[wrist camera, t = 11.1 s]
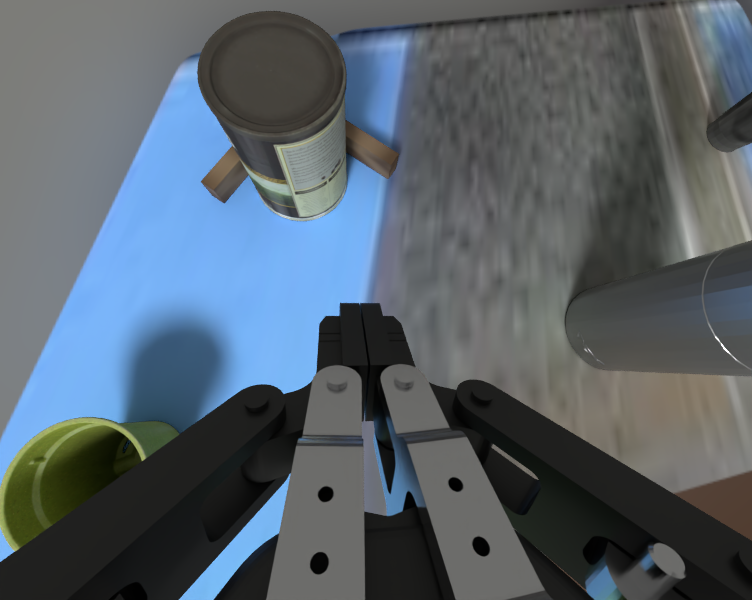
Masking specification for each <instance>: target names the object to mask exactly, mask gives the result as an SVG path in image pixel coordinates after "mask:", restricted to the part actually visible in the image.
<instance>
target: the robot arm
mask: <svg viewBox="0 0 752 600" xmlns="http://www.w3.org/2000/svg"><path fill="white" fill-rule="evenodd" d="M566 331H567V335H568V338H569V341H570V343H571V345H572V347H573V349H574V350H575V351H576V353H577V354H578V355H579V356H580V357H581V358H582V359H583V360H584V361H586V362H587V363H588V364H590V365H592V366H594V367H596V368H599V369H603V370H612V371H635V372H655V373H680V374H704V375H729V376H752V240H751V241H748V242H745V243H741V244H738V245H734V246H732V247H729V248H725V249H722V250H719V251H715V252H712V253H708V254H705V255H702V256H698V257H695V258H692V259H688V260H685V261H682V262H678V263H675V264H672V265H668V266H665V267H662V268H658V269H655V270H652V271H648V272H645V273H642V274H638V275H635V276H631V277H628V278H625V279H621V280H618V281H614V282H611V283H607V284H604V285H601V286H598V287H594V288H591V289H588V290H585V291H583V292H582V293H580V294H579V295H577V297H576V298H575V299H574V300H573V301H572V303H571V304H570V306H569V308H568V311H567V315H566ZM364 412H365V421H374V428H375V433H374V447H375V452H376V457H377V461H378V466H379V471H380V475H381V480H382V485H383V490H384V494H385V499H386V506H387V516H383V515H378V514H373V513H368V512H364V447H363V439H362V421H364ZM493 444H494V445H496V446H497V447H498V448H500V449H501V450H503V451H504V452H505V453H507V454H508V455H510V456H511V457H512V458H514V459H515V460H517V461H518V462H519V463H521V464H522V465H524V466H525V467H526V468H528V469H529V470H530V471H532V472H533V473H534V474H535V475H536V476H537V478H538V479H539V480H537V479H534V478H533V477H531V476H530V475H528V474H527V473H525V472H524V471H523V470H521V469H520V468H519V467H517V466H516V465H514V464H513V463H512V462H510V461H509V460H508V459H506V458H505V457H503V456H502V455H501V454H499V453H498V452H497V451H495V450H494V449H492V448H491V447H492V445H493ZM290 473H291V476H290V481H289V486H288V491H287V496H286V501H285V506H284V511H283V516H282V522H281V527H280V532H279V534H277V535H275V536H274V537H272V538H271V539H269V540H268V541H266V542H265V543H264V544H263V545H261V546H260V547H259V548H258V549H257V550H255V551H254V552H253V553H252V554H251V555H250V556H249V557H248V558H247V559H246V560H245V561H244V562H243V564H242V565H241V566H240V567H239V568H238V570H237V571H236V572H235V573H234V575H233V576H232V577H231V578H230V580H229V581H228V582H227V583H226V585H225V586H224V587H223V589H222V590H221V591H220V592H219V594H218V595H217V596H216V597H215V599H214V600H752V541H751V540H749V539H748V538H746V537H744V536H743V535H741V534H740V533H738V532H736V531H734V530H733V529H731V528H729V527H728V526H726V525H725V524H723V523H721V522H720V521H718V520H716V519H715V518H713V517H711V516H710V515H708V514H706V513H705V512H703V511H701V510H699V509H698V508H696V507H694V506H693V505H691V504H690V503H688V502H686V501H685V500H683V499H681V498H680V497H678V496H676V495H675V494H673V493H671V492H670V491H668V490H666V489H665V488H663V487H661V486H660V485H658V484H656V483H655V482H653V481H651V480H650V479H648V478H646V477H645V476H643V475H641V474H640V473H638V472H636V471H635V470H633V469H631V468H630V467H628V466H626V465H625V464H623V463H621V462H620V461H618V460H616V459H615V458H613V457H611V456H610V455H608V454H606V453H605V452H603V451H601V450H600V449H598V448H596V447H595V446H593V445H591V444H590V443H588V442H586V441H585V440H583V439H581V438H580V437H578V436H576V435H575V434H573V433H571V432H570V431H568V430H566V429H565V428H563V427H561V426H560V425H558V424H556V423H555V422H553V421H551V420H550V419H548V418H546V417H545V416H543V415H541V414H540V413H538V412H536V411H535V410H533V409H531V408H530V407H528V406H526V405H525V404H523V403H521V402H520V401H518V400H516V399H515V398H513V397H511V396H510V395H508V394H506V393H505V392H503V391H501V390H500V389H498V388H496V387H495V386H493V385H491V384H489V383H487V382H484V381H481V380H466V381H464V382H462V383H460V384H459V385H458V387H457V390H453V389H449V388H444V387H440V386H436V385H434V384H431V383H430V382H428V380H427V378H426V376H425V375H424V374H423V372H421V371H420V370H419V369H417V368H416V367H415V364H414V361H413V358H412V355H411V352H410V349H409V346H408V343H407V342H406V337H405V334H404V331H403V328H402V325H401V323H400V322H399V321H398V320H397V319H396V318H395V317H394V316H383V314H382V310H381V306H380V303H360V305H359V303H340V315H339V316H325V318H324V319H323V320H322V321H321V323H320V325H319V343H318V358H317V372H316V375H315V376H314V378H313V380H312V381H311V383H309V384H308V385H307V386H305V387H304V388H302V389H299V390H297V391H294V392H290V393H286V394H283V393H282V391H281V390H280V389H278V388H276V387H274V386H271V385H263V384H261V385H254V386H250V387H248V388H245V389H243V390H241V391H240V392H238V393H237V394H236V395H234V396H233V397H231V398H230V399H228V400H227V401H226V402H224V403H223V404H221V405H220V406H219V407H217V408H216V409H214V410H213V411H212V412H210V413H209V414H207V415H206V416H205V417H203V418H202V419H200V420H199V421H198V422H196V423H195V424H193V425H192V426H191V427H189V428H188V429H186V430H185V431H184V432H182V433H181V434H179V435H178V436H177V437H175V438H174V439H172V440H171V441H170V442H168V443H167V444H165V445H164V446H163V447H161V448H160V449H158V450H157V451H156V452H154V453H153V454H151V455H150V456H149V457H147V458H146V459H144V460H143V461H142V462H140V463H139V464H137V465H136V466H134V467H133V468H132V469H130V470H129V471H127V472H126V473H125V474H123V475H122V476H120V477H119V478H118V479H116V480H115V481H113V482H112V483H111V484H109V485H108V486H106V487H105V488H104V489H102V490H101V491H99V492H98V493H97V494H95V495H94V496H92V497H91V498H90V499H88V500H87V501H85V502H84V503H83V504H81V505H80V506H78V507H77V508H76V509H74V510H73V511H71V512H70V513H69V514H67V515H66V516H64V517H63V518H62V519H60V520H59V521H57V522H56V523H55V524H53V525H52V526H50V527H49V528H48V529H46V530H45V531H43V532H42V533H40V534H39V535H38V536H36V537H35V538H33V539H32V540H31V541H29V542H28V543H26V544H25V545H24V546H22V547H21V548H19V549H18V550H17V551H15V552H14V553H12V554H11V555H10V556H8V557H7V558H5V559H4V560H3V561H1V562H0V600H179V599H180V598H181V596H182V595H183V594H184V593H185V592H186V591H187V590H188V589H189V588H190V587H191V585H192V584H193V583H194V582H195V581H196V580H197V579H198V578H199V577H200V575H201V574H202V573H203V572H204V571H205V570H206V569H207V568H208V567H209V565H210V564H211V563H212V562H213V561H214V560H215V559H216V558H217V557H218V555H219V554H220V553H221V552H222V551H223V550H224V549H225V548H226V547H227V545H228V544H229V543H230V542H231V541H232V540H233V539H234V538H235V537H236V536H237V534H238V533H239V532H240V531H241V530H242V529H243V528H244V527H245V526H246V524H247V523H248V522H249V521H250V520H251V519H252V518H253V517H254V516H255V514H256V513H257V512H258V511H259V510H260V509H261V508H262V507H263V506H264V504H265V503H266V502H267V501H268V500H269V499H270V498H271V497H272V496H273V494H274V493H275V492H276V491H277V490H278V489H279V488H280V487H281V486H282V484H283V483H284V482H285V481H286V479H287V478H288V476H289V474H290ZM513 528H514V529H513ZM515 529H516V530H517V531H518V532H517V531H516V530H515ZM536 547H537V548H538V549H537V548H536ZM542 552H543V553H544V554H545V555H546V556H547V557H546V556H545V555H544V554H543V553H542ZM549 558H550V559H551V560H552V561H553V562H554V563H555V564H557V565H558V566H559V567H560V568H561V569H563V570H564V571H565V572H566V573H567V574H568V575H570V576H571V577H572V578H573V579H574V580H576V581H577V582H578V583H579V584H580V585H581V586H582V587H584V588H585V589H586V590H587V592H585V591H584V590H583V589H582V588H581V587H580V586H579V585H577V583H575V582H574V581H573V580H572V579H571V578H570V577H569V576H568V575H566V574H565V573H564V572H563V571H562V570H561V569H560V568H559V567H557V566H556V565H555V564H554V563H553V562H552V561H551V560H550V559H549Z"/></svg>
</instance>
